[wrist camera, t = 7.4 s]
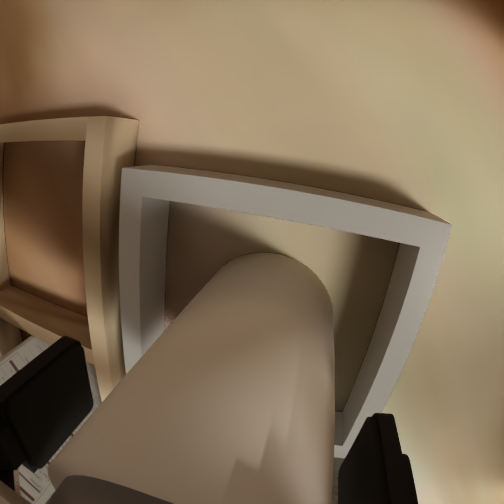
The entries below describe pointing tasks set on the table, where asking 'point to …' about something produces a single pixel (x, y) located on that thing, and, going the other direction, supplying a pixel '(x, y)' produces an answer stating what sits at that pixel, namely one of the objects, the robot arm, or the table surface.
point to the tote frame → (292, 209)
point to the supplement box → (38, 483)
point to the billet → (219, 401)
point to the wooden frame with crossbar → (94, 246)
